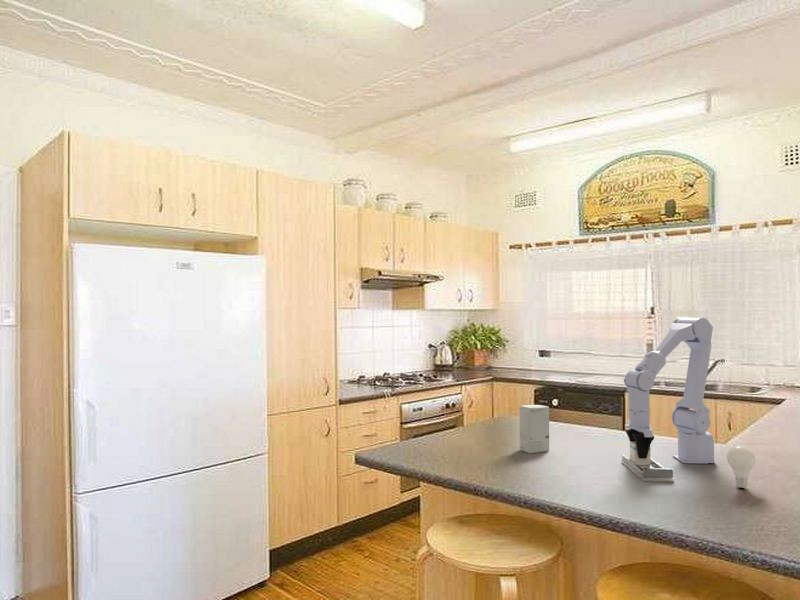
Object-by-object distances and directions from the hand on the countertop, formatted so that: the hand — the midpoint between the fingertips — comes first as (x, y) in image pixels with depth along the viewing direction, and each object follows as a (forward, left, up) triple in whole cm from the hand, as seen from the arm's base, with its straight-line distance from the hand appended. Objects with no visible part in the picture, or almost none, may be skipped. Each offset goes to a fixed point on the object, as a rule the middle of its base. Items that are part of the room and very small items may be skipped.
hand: (639, 456), depth 163 cm
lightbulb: (-19, +19, -3) cm, 27 cm away
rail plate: (0, +5, -3) cm, 6 cm away
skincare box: (+28, -17, -3) cm, 33 cm away
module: (0, 0, -2) cm, 2 cm away
